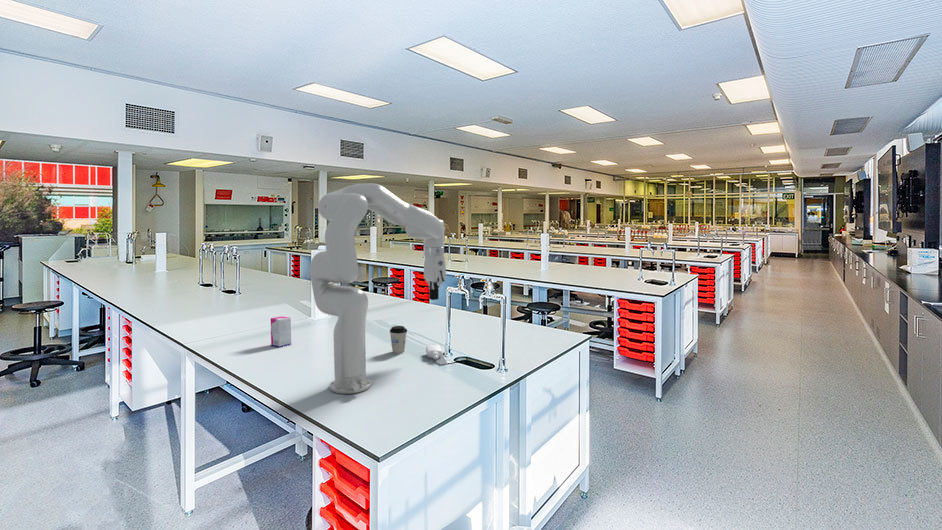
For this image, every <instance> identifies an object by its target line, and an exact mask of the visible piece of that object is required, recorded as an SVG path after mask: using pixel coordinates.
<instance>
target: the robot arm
mask: <svg viewBox="0 0 942 530" xmlns="http://www.w3.org/2000/svg"><path fill="white" fill-rule="evenodd" d="M317 209H318V213H319V215H320V216H321V217H322V218H323V219H325V220H327V221H329V222H328V224H327V226H326V229H325V233H324V243H325V250H323V251H320V252H318V253H316V254H314V256H313V257H312V258H311V260H310V265H309V274H310V283H311V289H312V293H313V300H314V303H315V306H316V307H317V309H318V310H319V312H321V313H323V314H325V315H329V316H335V317H337V320H336V324H335V325H334V329H333V360H334V361H333V363H334V365H333V366H334V367H333V368H334V369H333V370H334V380H333V381H331V382H330V383H329V390H330V391H331V392H332V393H336V394H341V395H342V394H343V395H348V394H350V395H351V394H358V393H361V392H364V391H366V390H368V389H369V388H371V387H372V380H371V379H369V378H368V377H367V362H366V321H367V320H366V319H367V313H368V309H369V299H368V296H367V294H366V293H365V292H364V291H363V290H362V289H361V288H358V287H355V286H349V285H344V284H351V283H353V282H355V281H356V280H357V279H358V276H359V263H358V256H357V250H356V249H357V248H356V242H355V234H356V230H357V228H358V226H359V225H360V223H361V221H362V220H363V219H364V217H365V216H366V215H367V212H368V210H369V211H371V212H373V213H374V214H376V215H378V216H380V217H381V218H383V219H384V220H385V221H387V222H389V223H391V224H393V225H397V226H401V227H405V228H404V230H405V233H406V235H407V236H408V237H410V238H411V239H414V240H424V248H423V249H424V251H423V255H424V262H423V278H424V280H425V282H426V283H427V285H428V290H429V292H428V294H429V295H428V299H429V300H431V301H435V300H436V301H437V300H439V291H440V287H441V286H443V282H446V281H447V271H446V270H447V267H446V265H447V264H446V258H445V221H444V220H442V219H439V218H438V217H437V216H436V215H434V214H433V213H431V212H430V211H428V210H426V209H424V208H422V207H419V206H416V205H413V204H411V203H408V202H406V201H403V200H402V199H401V198H400V197H398V196H396V195H395V194H394V193H392V192H391V191H390V190H389V189H387V188H386V187H384V186H383V185H382V184H378V183H374V182H371V183H356V184H352V185H349V186H348V185H347V186H346V187H342V188H340V189H337V190H334V191H332V192H328V193H326V194H324V195H323V196H321V198H320V200H319V202H318V205H317ZM339 284H343V285H339Z"/></svg>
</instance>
